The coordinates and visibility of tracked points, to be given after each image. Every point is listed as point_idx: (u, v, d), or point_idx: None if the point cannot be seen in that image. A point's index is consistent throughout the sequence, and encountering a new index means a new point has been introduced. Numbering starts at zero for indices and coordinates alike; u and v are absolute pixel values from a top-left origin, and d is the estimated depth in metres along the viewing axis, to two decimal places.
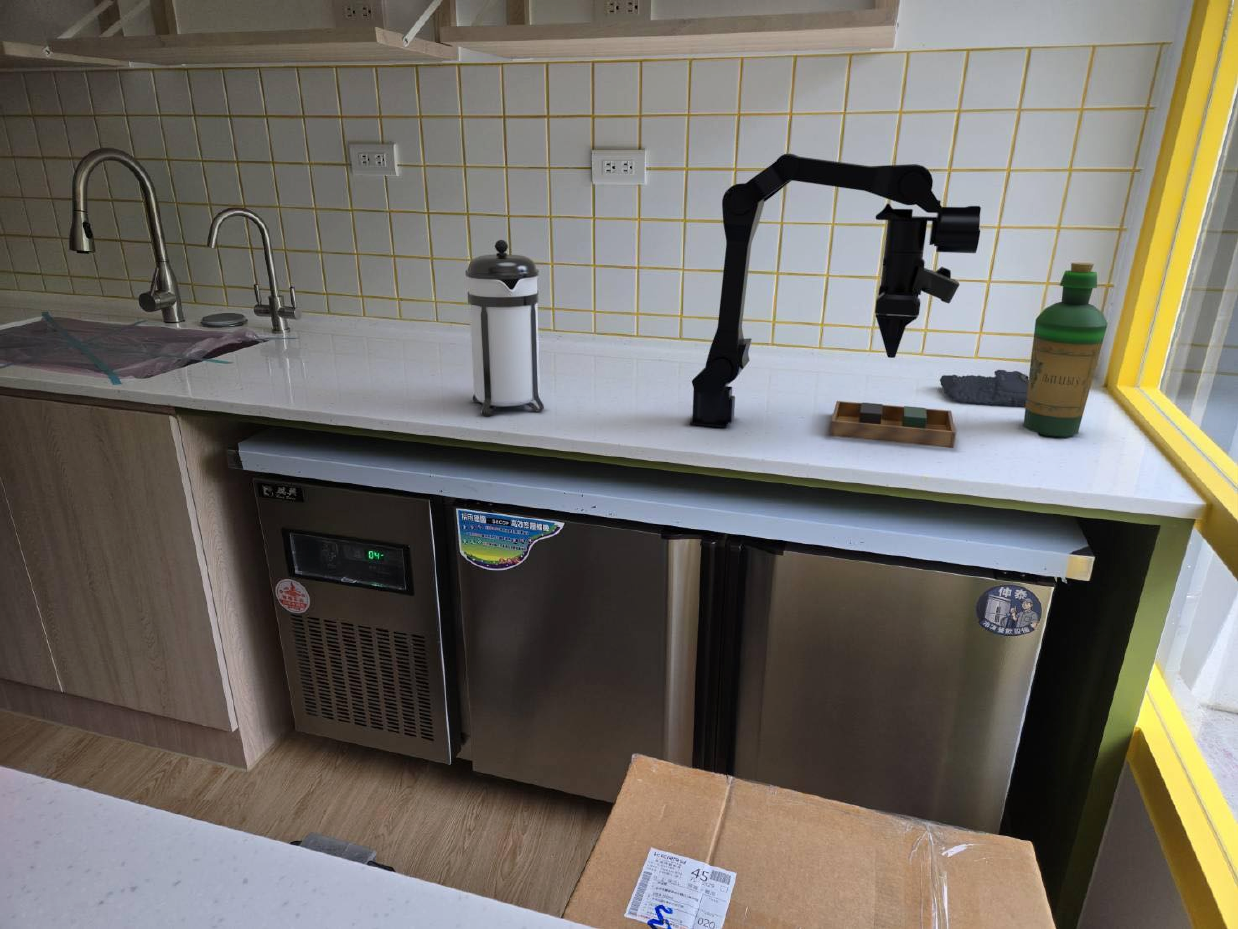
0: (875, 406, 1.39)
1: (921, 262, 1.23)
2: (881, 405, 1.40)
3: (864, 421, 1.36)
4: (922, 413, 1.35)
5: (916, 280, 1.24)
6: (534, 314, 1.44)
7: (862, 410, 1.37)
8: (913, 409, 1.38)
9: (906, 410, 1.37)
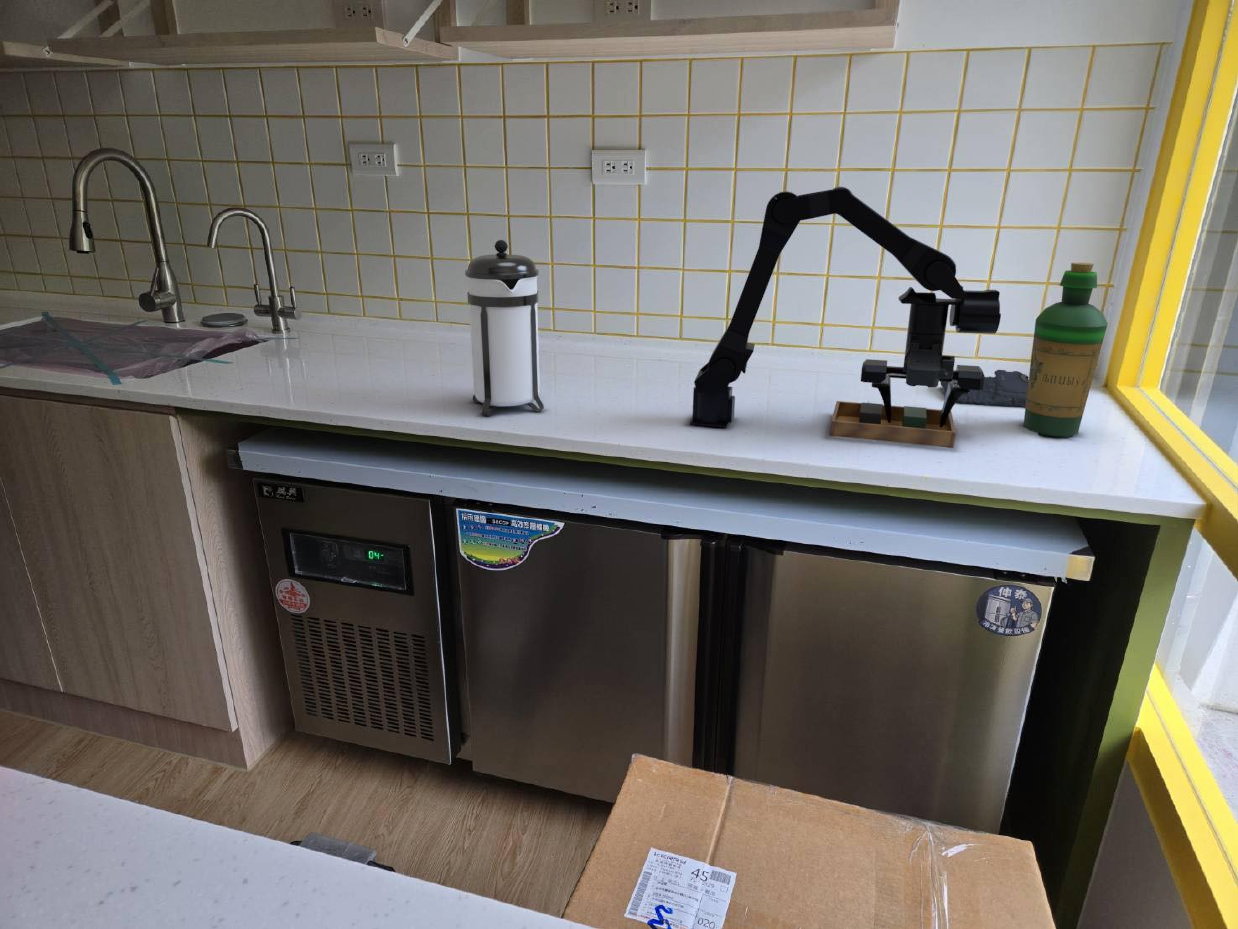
0: (875, 406, 1.39)
1: (909, 342, 1.30)
2: (881, 405, 1.40)
3: (864, 421, 1.36)
4: (922, 413, 1.35)
5: None
6: (534, 314, 1.44)
7: (862, 410, 1.37)
8: (913, 409, 1.38)
9: (906, 410, 1.37)
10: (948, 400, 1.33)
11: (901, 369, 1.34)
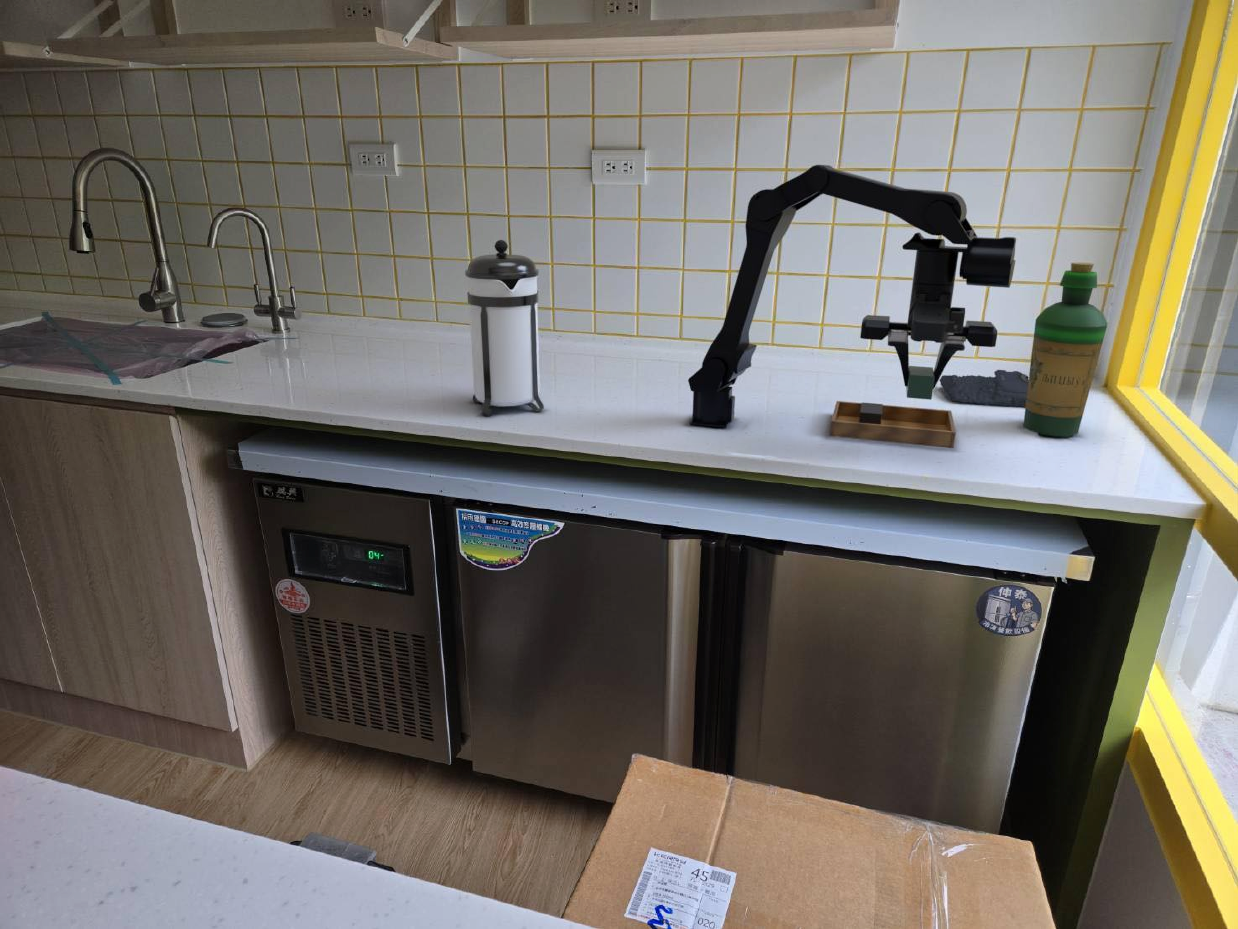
0: (875, 406, 1.39)
1: (915, 293, 1.18)
2: (881, 405, 1.40)
3: (864, 421, 1.36)
4: (930, 372, 1.23)
5: (909, 311, 1.19)
6: (534, 314, 1.44)
7: (862, 410, 1.37)
8: (919, 368, 1.25)
9: (911, 369, 1.24)
10: (941, 358, 1.21)
11: (905, 325, 1.22)
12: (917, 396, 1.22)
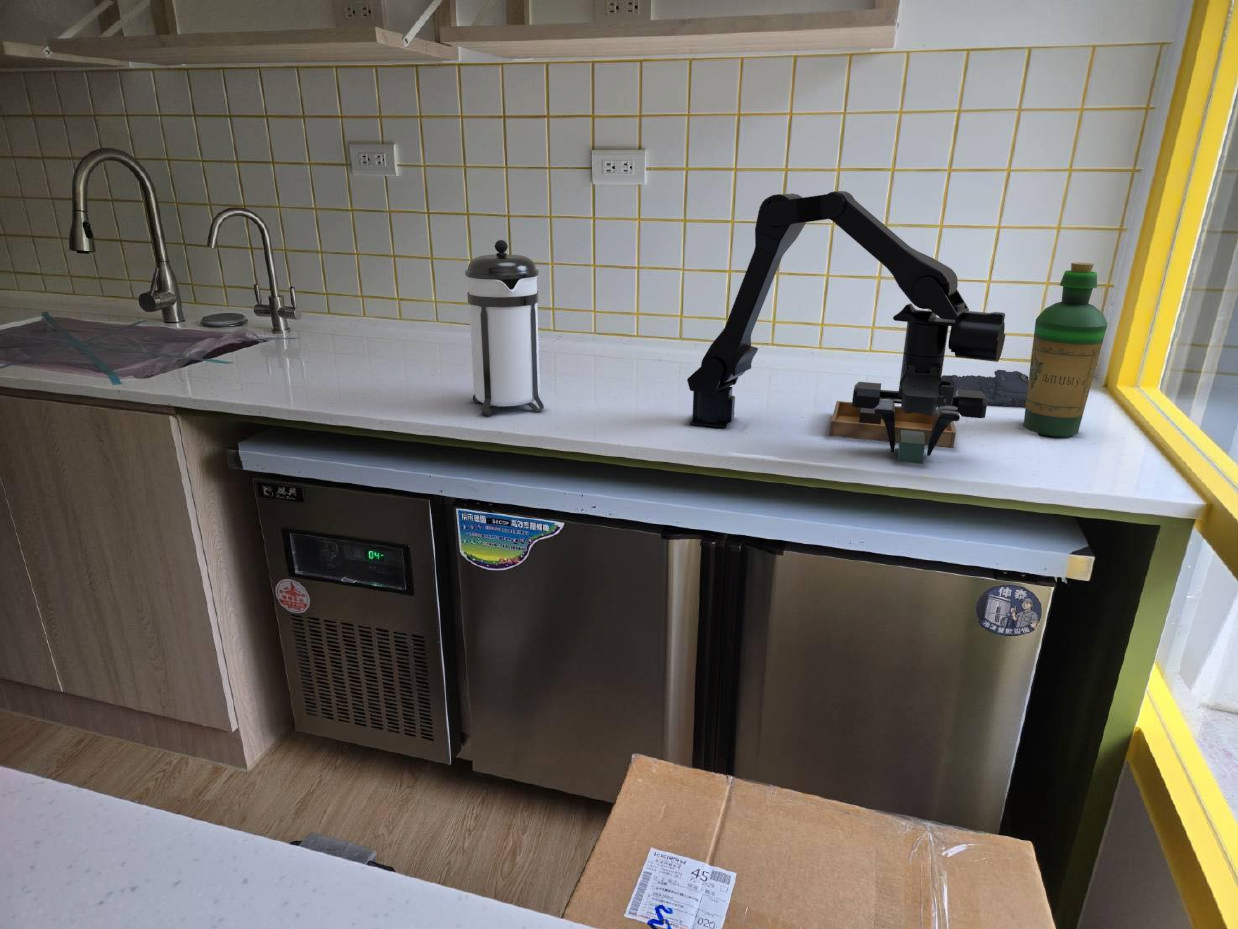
0: None
1: (905, 364, 1.19)
2: None
3: (864, 421, 1.36)
4: (920, 438, 1.24)
5: None
6: (534, 314, 1.44)
7: (862, 410, 1.37)
8: (910, 434, 1.26)
9: (903, 435, 1.26)
10: (936, 427, 1.22)
11: (896, 393, 1.23)
12: None
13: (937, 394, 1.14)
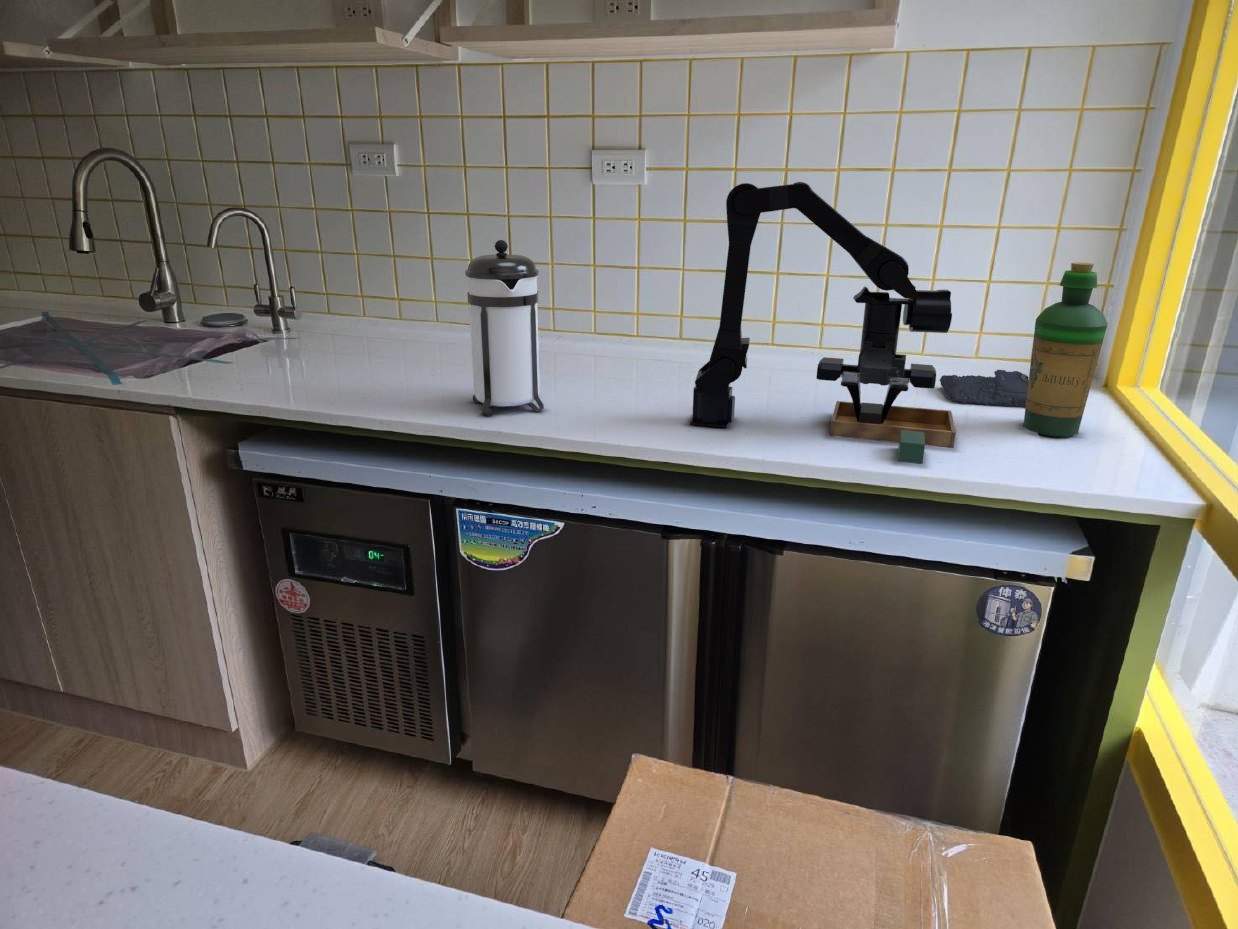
0: (875, 406, 1.39)
1: (863, 340, 1.33)
2: (881, 405, 1.40)
3: (864, 421, 1.36)
4: (920, 438, 1.24)
5: None
6: (534, 314, 1.44)
7: (862, 410, 1.37)
8: (910, 434, 1.26)
9: (903, 435, 1.26)
10: (888, 397, 1.36)
11: (856, 367, 1.36)
12: None
13: (890, 366, 1.28)
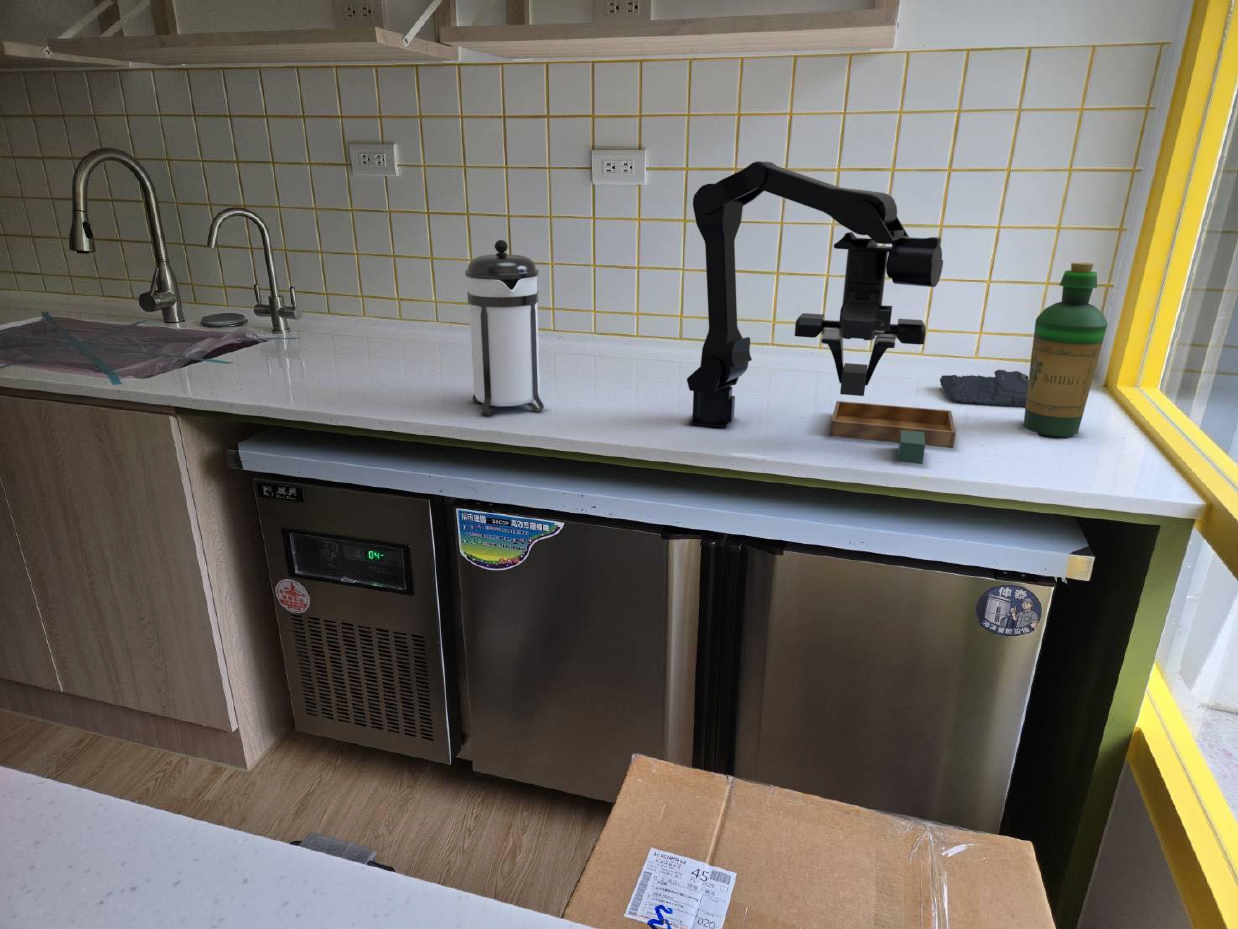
0: (859, 366, 1.27)
1: (845, 292, 1.20)
2: (866, 365, 1.28)
3: (847, 382, 1.24)
4: (920, 438, 1.24)
5: None
6: (534, 314, 1.44)
7: (845, 370, 1.25)
8: (910, 434, 1.26)
9: (903, 435, 1.26)
10: (873, 355, 1.23)
11: (838, 323, 1.24)
12: None
13: (875, 318, 1.16)
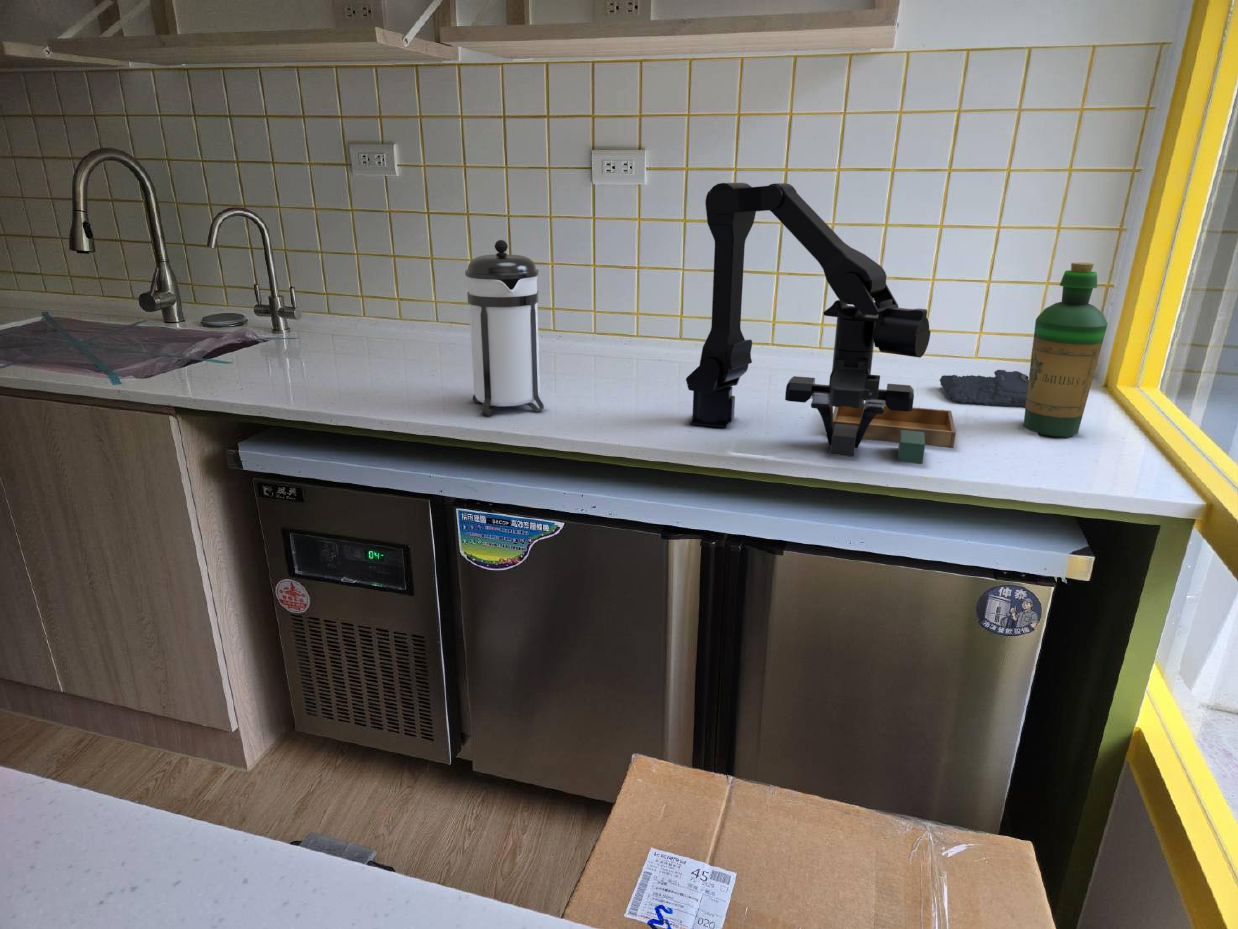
0: (849, 428, 1.29)
1: (835, 359, 1.22)
2: (856, 427, 1.29)
3: (837, 445, 1.26)
4: (920, 438, 1.24)
5: None
6: (534, 314, 1.44)
7: (834, 433, 1.26)
8: (910, 434, 1.26)
9: (903, 435, 1.26)
10: (862, 420, 1.25)
11: (828, 387, 1.26)
12: None
13: (863, 388, 1.17)
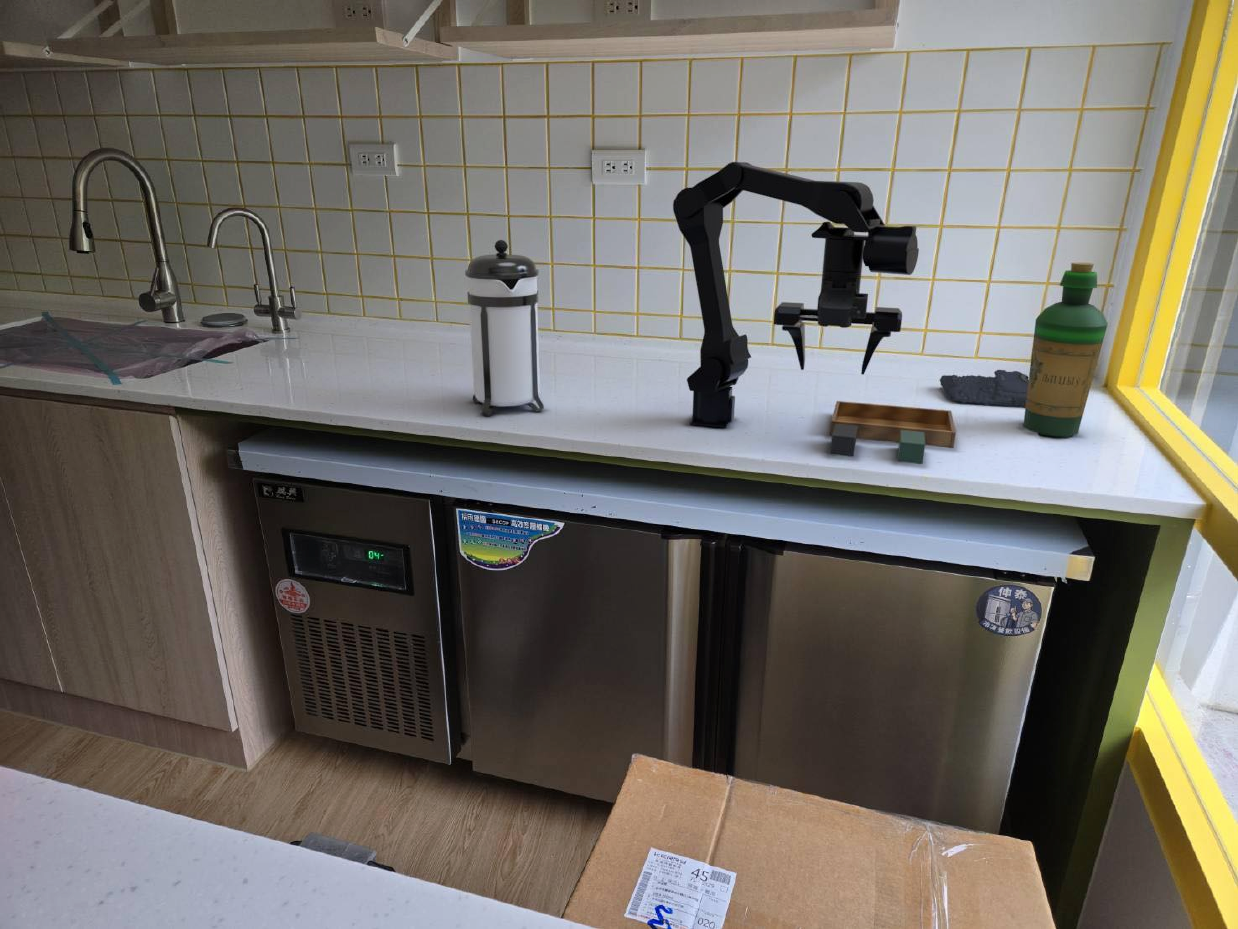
0: (849, 428, 1.29)
1: (823, 280, 1.22)
2: (856, 427, 1.29)
3: (837, 445, 1.26)
4: (920, 438, 1.24)
5: None
6: (534, 314, 1.44)
7: (835, 433, 1.26)
8: (910, 434, 1.26)
9: (903, 435, 1.26)
10: (869, 344, 1.24)
11: (816, 311, 1.26)
12: None
13: (851, 306, 1.17)
